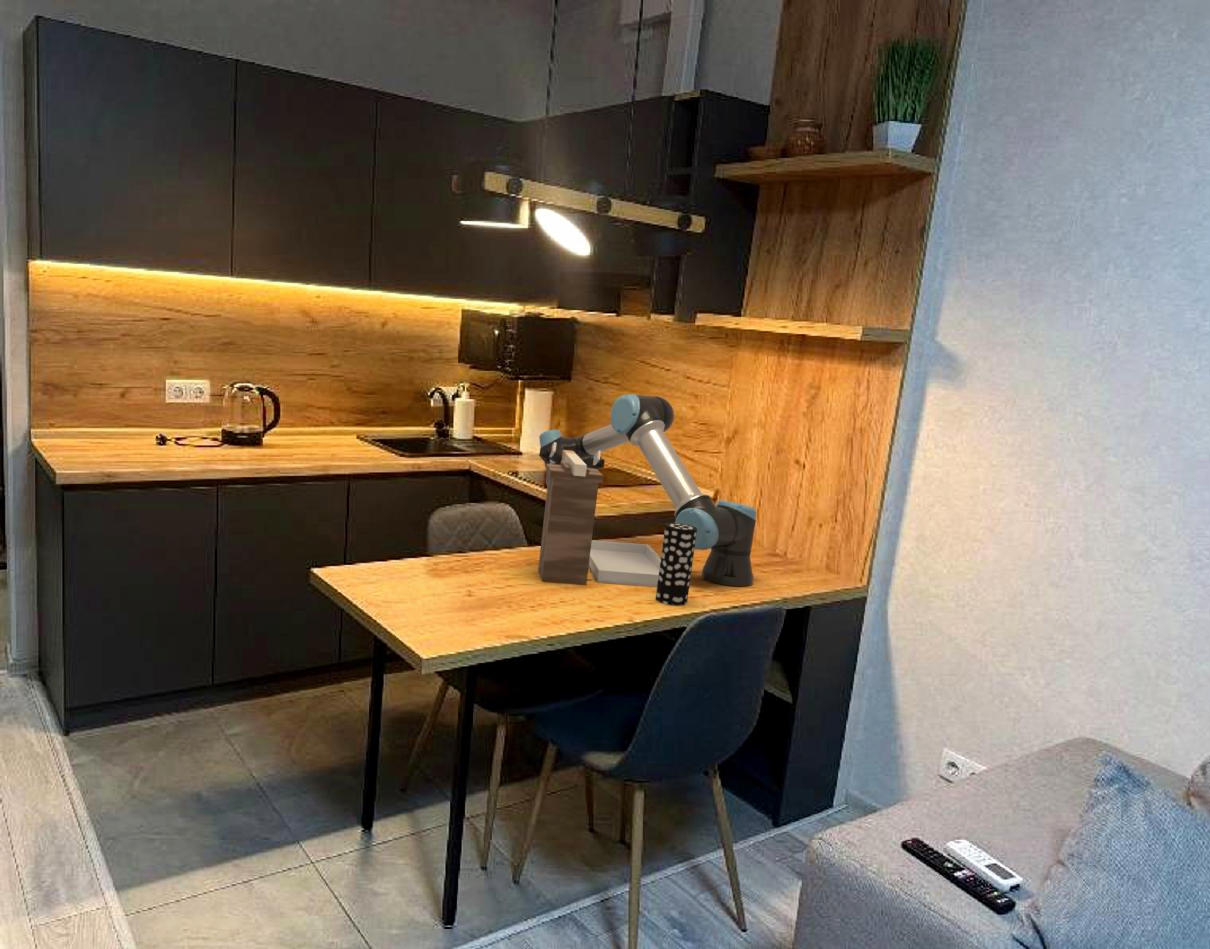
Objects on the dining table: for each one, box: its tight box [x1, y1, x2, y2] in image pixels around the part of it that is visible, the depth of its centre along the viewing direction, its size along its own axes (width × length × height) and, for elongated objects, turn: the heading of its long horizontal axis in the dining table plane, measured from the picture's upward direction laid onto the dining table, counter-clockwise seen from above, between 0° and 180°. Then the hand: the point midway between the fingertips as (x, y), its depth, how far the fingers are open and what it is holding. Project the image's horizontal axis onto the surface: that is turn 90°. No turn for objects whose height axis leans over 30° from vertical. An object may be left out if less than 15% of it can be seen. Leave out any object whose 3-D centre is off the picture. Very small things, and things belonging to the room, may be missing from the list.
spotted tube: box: [655, 522, 697, 607], centre depth 241 cm, size 8×8×20 cm
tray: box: [588, 539, 661, 588], centre depth 272 cm, size 38×22×4 cm, turn 9°
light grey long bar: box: [562, 450, 587, 477], centre depth 251 cm, size 28×3×3 cm, turn 9°
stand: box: [537, 461, 604, 586], centre depth 251 cm, size 13×14×31 cm
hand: (577, 450), depth 275 cm, fingers open, 13 cm apart
